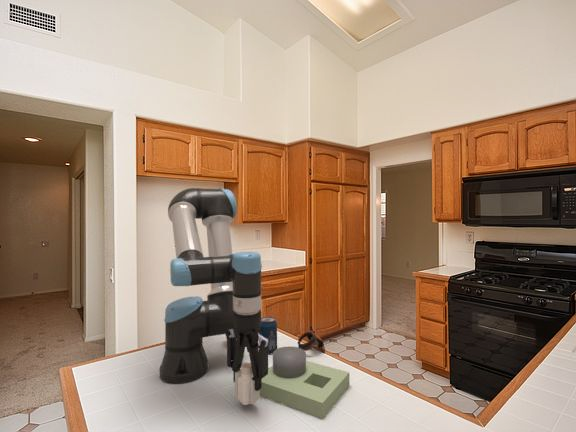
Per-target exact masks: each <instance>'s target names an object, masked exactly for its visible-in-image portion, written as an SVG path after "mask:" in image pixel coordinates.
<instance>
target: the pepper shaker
mask: <svg viewBox="0 0 576 432" xmlns="http://www.w3.org/2000/svg"><path fill="white" fill-rule="evenodd" d="M240 369H241V376H239V377H238V398H237V399H238V400H237V401H239V402H240V403H241V404H242V405H243V406H247V405H250V404H251V378H252V377H253V373H252V367H251V362H244V363H243V362H242V365H241V368H240Z"/></svg>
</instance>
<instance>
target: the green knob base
mask: <svg viewBox="0 0 576 432" xmlns="http://www.w3.org/2000/svg"><path fill="white" fill-rule="evenodd" d="M349 387H350V372H349V371H346V370H341V369H338V368H334V367H331V366H326V365H323V364H320V363H316V362H313V361H309V360H307V354H306V351H305V350H303V349H301V348H298V346H297V347H296V346H281V347H277V349H276V350H275V351H274V352H273V354H272V365H271V366H269V367H268V375H266V376H265V377H264V378H262V387H261V389H260V397H262V398H265V399H268V400H270V401H273V402H276V403H279V404H282V405H284V406H287V407H289V408H292V409H294V410H298V411H300V412H303V413H306V414H308V415H310V416H314V417H317V418H319V419H322V420H324V418H325V417H326V415H328V413H329V412H330V410H331V409H332V408H333V407H334V406H335V404H336V403H337V402H338V401H339V399H340V398H341V397H342V396H343V395H344V393H345V392H346V391H347V390H348V388H349Z"/></svg>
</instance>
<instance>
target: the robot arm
mask: <svg viewBox="0 0 576 432" xmlns="http://www.w3.org/2000/svg"><path fill="white" fill-rule="evenodd" d="M237 211H238V210H237V201H236V197H235V194H234V193H233V192H232V190H230V189H227V188H226V189H225V188H199V187H195V188H194V187H191V188H186V189H184V190H181V191H179V192H178V193H177V194H176V195H175V196H173V198H172V199H170V202H169V203H168V206H167V216H168V219H169V221H171V223H172V232H173V241H174V249H175V250H174V251H175V257H176V258H173V259H172V260H171V261H170V263H169V264H170V269H169V272H170V283H171V286H173V287H190V286H199V285H208V284H209V285H210V291H209V292H208V294H207V295H206V296H207V297H206V298H207V300H203V298H202V297H201V296H197V295H196V296H186V297H181V298H179V299H176V300H174V301H171V302H170V303H168V305H167V306H166V308H165V311H164V313H165V315H164V318H163V319H164V320H163V322H164V326H165V327H164V329H165V330H164V331H165V334H164V337H165V340H164V348H165V349H164V353H163V357H162V361H161V364H160V366H159V379H160V380H161V381H162V382H164V383H167V384H185V383H189V382H193V381H196V380H197V379H200V378H202V377H204V376H205V375H206V374H207V373H208V371H209V360H208V357H207V354H206V351H205V349H204V346H203V344H204V343H203V339H204V338H207V337H215V336H221V335H225V337H226V350H227V351H226V361H227V362H226V366H227V368H231V369H232V370H231V371H232V373H233V374H232V376H233V383H234V397H235V398H237V399H238V377H239V376H241V365H242V364H243V360H244V355H245V351H246V352H247V353H248V356H249V360H250V362H249V363H251V367H252V373H253V377H252V378H251V403H250V404H251V405H254V404H256V403H257V402H258V401H260V398H261V396H260V389H261V387H262V378H264V377H265V376H266V375H268V368H269V354H268V346H269V343H270V339H269V338H264V337H263V336H261V332H260V326H261V318H262V312H261V310H262V269H263V268H262V267H263V266H262V257H261V254H260V253H259V252H257V251H256V252H255V251H238V252H235V253H233V246H232V239H231V238H232V237H231V228H230V225H231V224H232V223H233V220H234V218H236V216H237ZM196 219H197V220H199V219H200V220H201V224H202V225H203V226H204V227H205V228H206V237H207V251H208V253H207V254H208V256H205V257H204V252H203V248H202V243H201V241H200V239H201V238H200V234H199V231H198V225H197V222H196ZM236 339H237V340H236ZM245 349H246V350H245Z"/></svg>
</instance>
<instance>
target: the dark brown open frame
mask: <svg viewBox="0 0 576 432" xmlns="http://www.w3.org/2000/svg"><path fill="white" fill-rule="evenodd" d="M304 338H307V339H308V341H307V342H306V343H305V342H304V343H301V342H302V341H303V339H304ZM313 346H317V348H318V349H321V350H322V352H323V354H326V348H325V344H324V342H323V339H322V337H321V336H319V334H317V333H316V331H315V330H314V329H311V330H309V331H305V332H304V333H302V334H301V335H300V336H299V337H298V338H297V347H298V348H301V349H303V350H304V351H305V352H306V351H313Z"/></svg>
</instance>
